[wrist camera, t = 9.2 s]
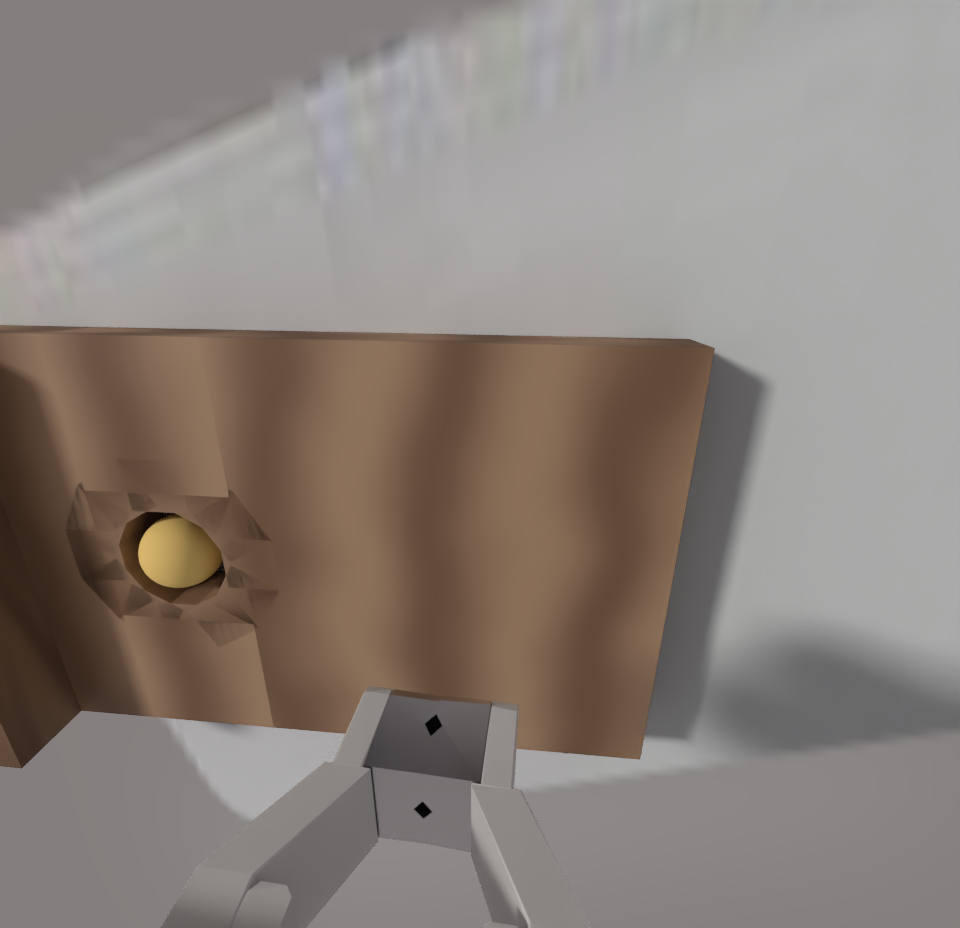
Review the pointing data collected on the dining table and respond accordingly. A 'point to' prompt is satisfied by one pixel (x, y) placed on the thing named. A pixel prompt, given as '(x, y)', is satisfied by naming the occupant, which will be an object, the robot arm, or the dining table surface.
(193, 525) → the ball
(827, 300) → the dining table surface
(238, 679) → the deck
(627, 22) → the dining table surface
